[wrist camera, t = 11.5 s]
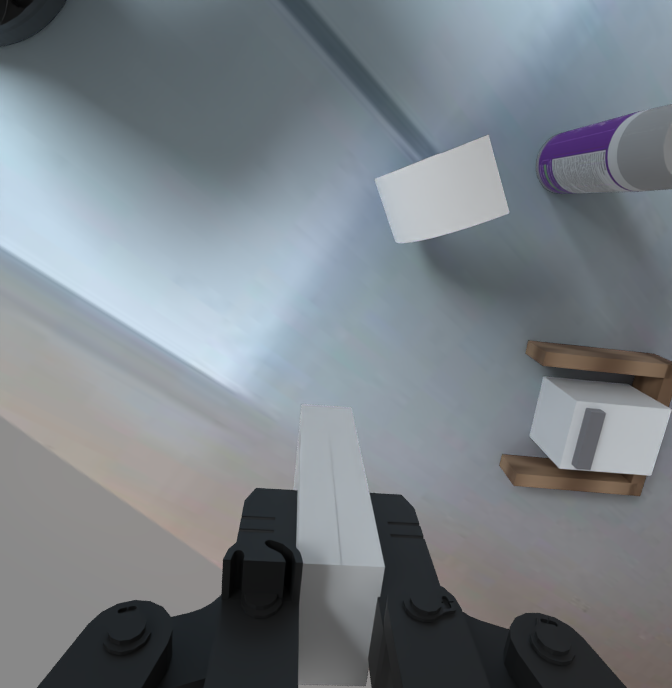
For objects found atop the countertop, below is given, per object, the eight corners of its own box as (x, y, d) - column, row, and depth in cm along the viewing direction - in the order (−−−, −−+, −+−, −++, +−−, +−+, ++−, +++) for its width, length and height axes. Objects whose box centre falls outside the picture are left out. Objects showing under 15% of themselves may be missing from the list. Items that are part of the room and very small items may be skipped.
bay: (499, 465, 47) (513, 485, 44) (528, 340, 44) (546, 351, 41) (617, 475, 48) (640, 496, 45) (654, 353, 45) (681, 366, 42)
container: (577, 119, 39) (732, 72, 25) (602, 172, 41) (763, 156, 26) (525, 154, 40) (647, 127, 25) (551, 205, 41) (681, 207, 27)
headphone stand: (453, 210, 41) (509, 213, 29) (384, 236, 41) (412, 250, 30) (437, 153, 40) (488, 134, 28) (365, 181, 40) (387, 173, 28)
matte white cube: (528, 435, 47) (564, 473, 40) (542, 375, 45) (582, 405, 39) (609, 442, 48) (657, 480, 41) (626, 383, 46) (678, 413, 39)
